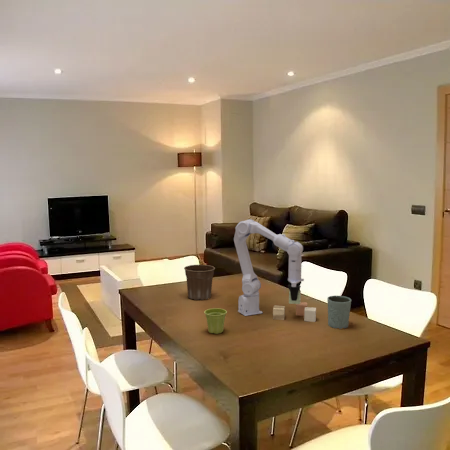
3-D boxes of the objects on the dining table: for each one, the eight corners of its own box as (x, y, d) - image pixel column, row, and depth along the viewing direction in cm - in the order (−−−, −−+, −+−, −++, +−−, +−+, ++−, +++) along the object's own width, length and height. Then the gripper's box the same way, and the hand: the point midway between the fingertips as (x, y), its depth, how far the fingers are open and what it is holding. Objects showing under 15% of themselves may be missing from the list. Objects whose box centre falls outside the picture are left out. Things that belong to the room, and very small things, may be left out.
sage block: (300, 304, 206) (300, 293, 206) (288, 303, 207) (288, 292, 207) (300, 300, 211) (300, 290, 211) (289, 300, 212) (289, 289, 212)
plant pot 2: (210, 337, 187) (210, 316, 186) (200, 329, 195) (200, 310, 194) (230, 333, 191) (230, 313, 190) (220, 326, 200) (220, 307, 199)
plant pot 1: (220, 295, 248) (220, 266, 246) (203, 303, 234) (203, 272, 232) (196, 291, 256) (196, 263, 254) (178, 298, 243) (177, 268, 241)
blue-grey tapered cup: (334, 320, 207) (335, 294, 206) (355, 325, 200) (355, 298, 199) (322, 325, 200) (322, 298, 199) (342, 331, 193) (343, 303, 192)
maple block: (284, 320, 208) (284, 309, 207) (272, 319, 209) (273, 308, 208) (284, 316, 213) (284, 306, 212) (274, 316, 214) (274, 305, 213)
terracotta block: (306, 316, 213) (307, 305, 213) (296, 315, 214) (296, 305, 214) (307, 312, 218) (307, 302, 218) (296, 312, 219) (296, 301, 219)
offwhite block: (315, 321, 205) (315, 311, 205) (304, 321, 206) (304, 310, 206) (315, 318, 210) (315, 307, 209) (304, 317, 211) (304, 307, 210)
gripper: (303, 273, 200) (302, 303, 201) (304, 266, 214) (303, 294, 215) (286, 272, 201) (286, 302, 203) (289, 265, 215) (288, 294, 217)
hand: (294, 298), depth 209 cm, fingers closed on sage block, 5 cm apart
